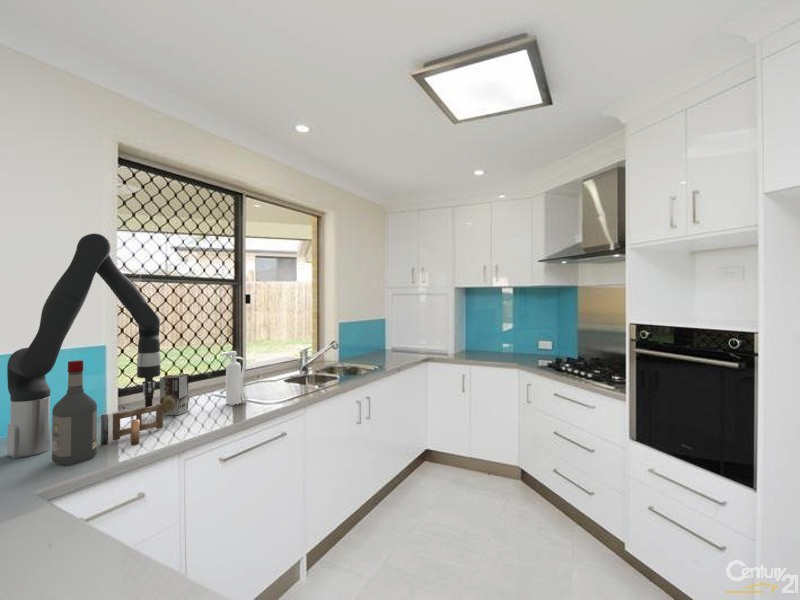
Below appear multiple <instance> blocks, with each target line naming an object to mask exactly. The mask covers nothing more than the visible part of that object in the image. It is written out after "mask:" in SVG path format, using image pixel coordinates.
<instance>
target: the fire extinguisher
mask: <svg viewBox="0 0 800 600" xmlns="http://www.w3.org/2000/svg"><path fill="white" fill-rule="evenodd" d="M237 355H238V354H237V351H236V350H233V351H232V350H231V351H225V352H221V353H219V356H226V357H224V359H223V360H222V362H221V365H223V366H225V363H226V361H227V360H228V359H229V358H230V357H231V360H230V362H228V363H227V364H226V366H225V405H226V404H229V405H228V406H236V405H235V404H237V405H239V403H240V404H241V403H242V402H245V401H248V400H249V399H250V397H249V395H248V394H247V391H245V389H244V376H245V367H246V359H245V358H244V357H242V356H237ZM238 359H239V360H241V361H242V365H241V363H240V362H238V361H237V360H238ZM241 400H242V401H241Z"/></svg>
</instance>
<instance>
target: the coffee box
mask: <svg viewBox="0 0 800 600" xmlns="http://www.w3.org/2000/svg"><path fill="white" fill-rule="evenodd" d="M159 404H163V416H180V414H181V415H183V414H185V412H186V413H187V411H188V412H189V375H188V374H168V375H165V376H162V377H161V376H160V377H159ZM182 413H183V414H182Z"/></svg>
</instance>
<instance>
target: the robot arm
mask: <svg viewBox="0 0 800 600" xmlns="http://www.w3.org/2000/svg"><path fill="white" fill-rule="evenodd" d="M111 249H112V247H111V243H110V241H109V240H108V238H107V237H105V235H102V234H99V233H89V234H86V235H83V236H82V237H81V238H80V239H79V240H78V243H77V245H76V249H75V252H74V255H73V257H72V260H71V261H70V264H69V266H68V267H67V268H66V270H65V271H64V272H63V274H62V275H61V276H60V278H59V279H58V280H57V282H56V284H55V285H54V286H53V288H52V290H51V291H50V292H49V295H48V296H47V298H46V300H45V302H44V304H43V307H42V310H41V315H40V321H39V327H38V330H37V333H36V334H35V337H34V338H33V339H32V342H31V343H30V344H29V346H28V347H23V348H20V349H17V350H16V351H14V352H13V353H11V355H10V356H9V359H8V361H7V365H6V366H7V367H6V370H7V371H6V373H7V374H6V377H7V390H8V392H9V396H10V398H9V399H10V404H9V405H10V407H9V408H10V415H9V416H10V417H9V423H8V424H7V443H6V444H7V445H6V446H7V455H8V456H9V457H11V458H12V459H17V458H23V457H24V458H25V457H30V456H35V455H38V454H43V453H45V452H46V451H49V450H50V448H51V447H50V446H51V445H50V444H51V388H50V386H49V384H48V383H47V380H46V375H47V374H48V373H50V372H51V371H52V370H53V368H54V366H55V364H56V362H57V359H58V356H59V354H60V351H61V348H62V345H63V343H64V341H65V339H66V336H67V335H68V333H69V332H70V330H71V328H72V326H73V324H74V322H75V320H76V318H77V317H78V315H79V313H80V311H81V309H82V307H83V306H84V304H85V302H86V299H87V296H88V294H89V292H90V289H91V287H92V283H93V280H94V277H95V275H96V273H97V274H98V275H99V276H100V278H101V279H102V280H103V281H104V283H106V285H107V286H108V287H109V289H111V291H112V292H113V294H114V295H115V296H116V298H117V299H118V301H119V302H120V303H121V304H122V306H123V307H124V308H125V309H126V310H127V311H128V312H129V313H130V315H131V317H132V318H133V319H134V321H135V323H136V324H137V325H138V342H137V358H136V377H137V378H139V379H144V381H142V383H141V384H142V392H143V396H144V399H143V400H144V405H145V406H144V408H145V407H149V406H153V399H154V394H155V386H156V380H154V378H157V377H161V352H160V351H161V349H160V348H161V343H160V342H161V341H160V325H161V318H160V317H159V315H158V314H157V313H156V312H155V311H154V310H153V307H151V306H150V305H149V304H148V302H147V300H146V298H145V297H144V296H143V294H142V293H141V291H140V290H139V289H138V288H137V287H136V285H135V284H134V283H133V282H132V281H131V280H130V279H129V278H128V277H127V276H126V275H125V274H124V273H123V272H122V271H121V270H120V269H119V268H118V267H117V266H116V265H117V264H115V263H114V261H113V259H112V257H111V255H110V253H111Z"/></svg>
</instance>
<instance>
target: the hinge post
mask: <svg viewBox="0 0 800 600" xmlns="http://www.w3.org/2000/svg"><path fill="white" fill-rule="evenodd" d="M108 444H109V413H102V414H101V415H100V446H106V445H108Z"/></svg>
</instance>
